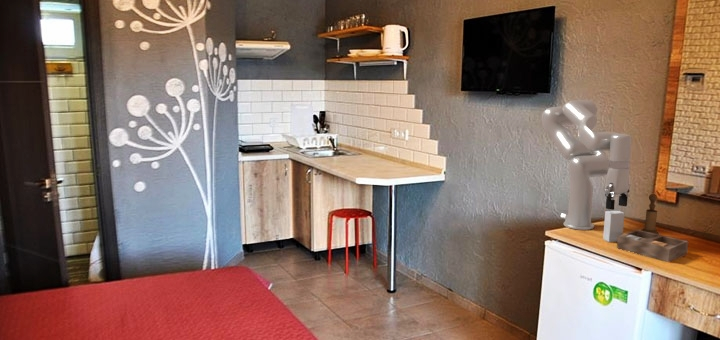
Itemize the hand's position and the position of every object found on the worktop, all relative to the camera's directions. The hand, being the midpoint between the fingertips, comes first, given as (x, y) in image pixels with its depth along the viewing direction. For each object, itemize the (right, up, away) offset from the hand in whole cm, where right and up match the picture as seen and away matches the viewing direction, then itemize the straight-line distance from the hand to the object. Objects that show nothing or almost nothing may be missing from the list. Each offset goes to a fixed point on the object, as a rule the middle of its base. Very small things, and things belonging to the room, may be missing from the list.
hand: (616, 207), depth 216 cm
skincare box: (0, -14, +3) cm, 14 cm away
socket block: (+8, -16, -10) cm, 21 cm away
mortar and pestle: (+18, -13, +9) cm, 24 cm away
